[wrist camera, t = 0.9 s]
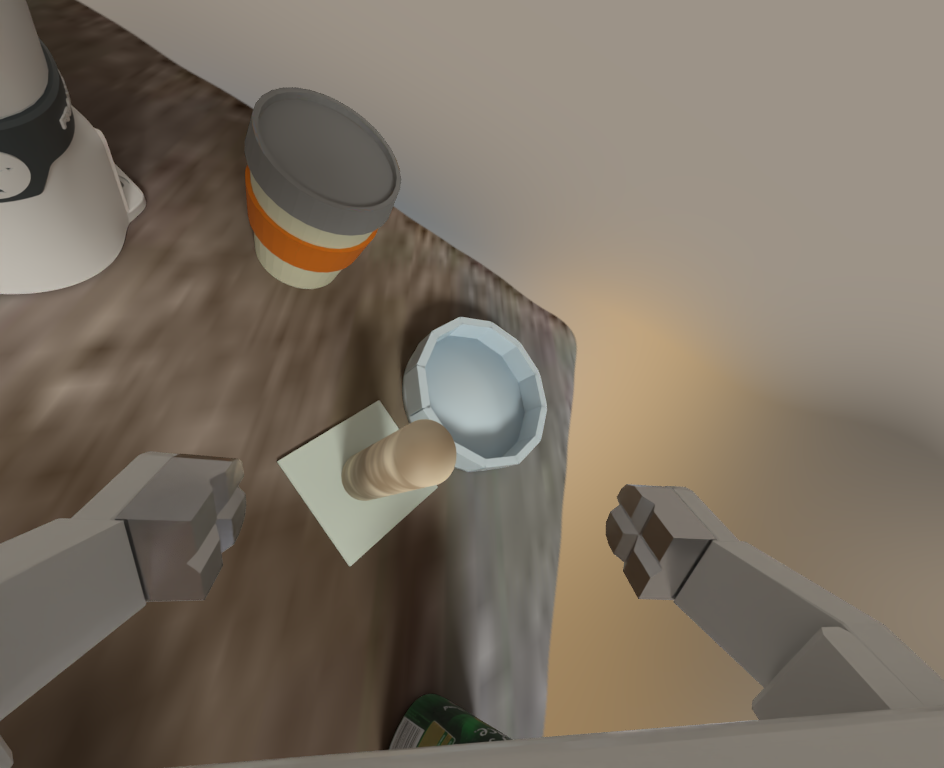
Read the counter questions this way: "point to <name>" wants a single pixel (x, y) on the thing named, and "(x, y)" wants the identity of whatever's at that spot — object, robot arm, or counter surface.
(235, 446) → the counter surface
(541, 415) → the bowl
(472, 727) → the coffee jar
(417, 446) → the pepper mill
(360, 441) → the mat
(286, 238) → the reusable coffee cup
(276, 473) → the counter surface
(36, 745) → the counter surface
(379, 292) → the counter surface
